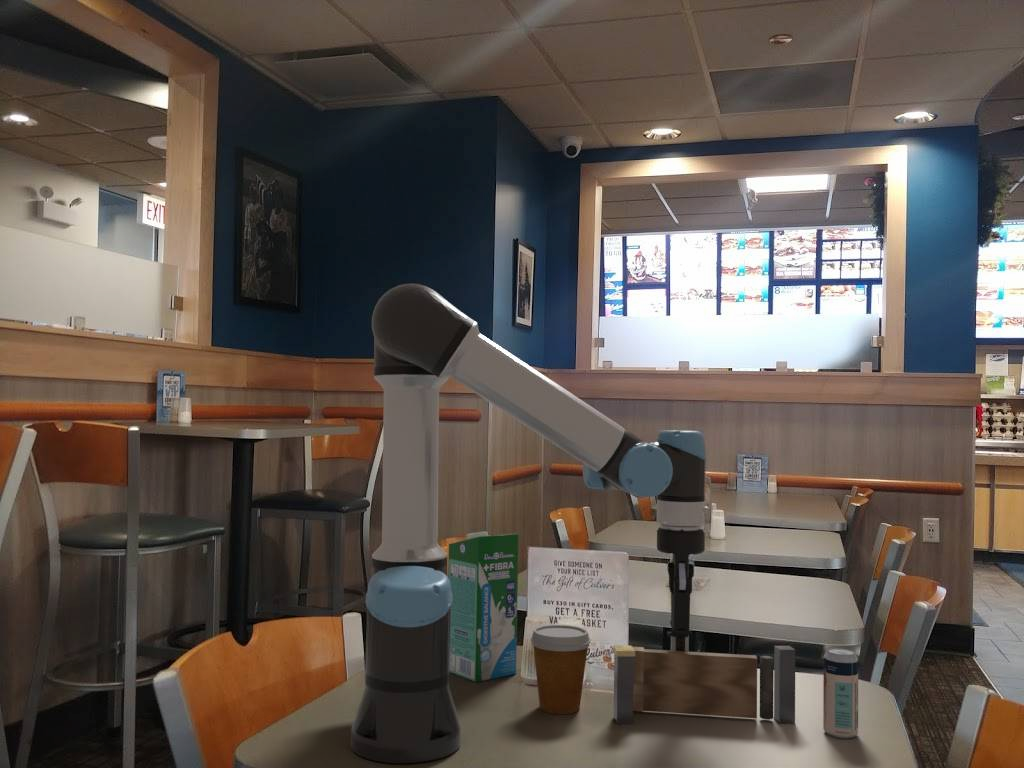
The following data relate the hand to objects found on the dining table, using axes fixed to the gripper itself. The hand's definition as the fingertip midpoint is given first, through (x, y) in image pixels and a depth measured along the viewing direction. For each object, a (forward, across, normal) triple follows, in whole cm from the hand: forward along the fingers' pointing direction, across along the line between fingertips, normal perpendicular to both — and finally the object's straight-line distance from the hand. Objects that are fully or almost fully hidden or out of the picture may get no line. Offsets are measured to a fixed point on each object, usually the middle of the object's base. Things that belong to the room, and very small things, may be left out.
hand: (679, 676), depth 143 cm
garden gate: (+4, -3, -3) cm, 6 cm away
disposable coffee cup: (+5, -3, +19) cm, 20 cm away
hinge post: (+5, -3, -16) cm, 17 cm away
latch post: (+5, -8, +9) cm, 13 cm away
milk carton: (+5, +14, +34) cm, 37 cm away
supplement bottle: (+5, -8, -23) cm, 25 cm away
